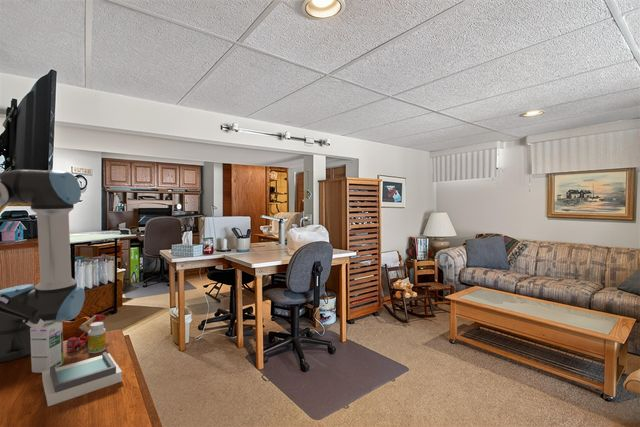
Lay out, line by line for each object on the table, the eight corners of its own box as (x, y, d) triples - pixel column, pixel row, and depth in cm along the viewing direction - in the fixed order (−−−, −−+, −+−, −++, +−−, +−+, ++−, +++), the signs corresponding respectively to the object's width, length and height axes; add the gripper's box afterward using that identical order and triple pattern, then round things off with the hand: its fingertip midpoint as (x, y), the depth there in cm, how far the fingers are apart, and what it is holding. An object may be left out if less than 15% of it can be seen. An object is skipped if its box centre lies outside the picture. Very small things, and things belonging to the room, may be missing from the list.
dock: (42, 381, 95) (42, 365, 94) (109, 361, 107) (109, 347, 106) (47, 406, 83) (47, 387, 83) (122, 381, 95) (121, 364, 95)
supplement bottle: (92, 355, 111) (91, 327, 111) (85, 351, 114) (84, 324, 114) (108, 349, 116) (108, 323, 115) (101, 345, 119) (101, 319, 118)
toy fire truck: (64, 352, 113) (64, 325, 113) (98, 336, 127) (98, 312, 126) (72, 353, 112) (72, 326, 112) (105, 337, 126) (105, 313, 126)
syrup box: (49, 373, 99) (48, 327, 99) (30, 372, 99) (29, 327, 99) (64, 363, 105) (63, 320, 105) (46, 363, 105) (45, 320, 105)
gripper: (-113, 303, 72) (-40, 340, 87) (3, 303, 73) (54, 339, 89) (-85, 275, 77) (-21, 315, 92) (23, 275, 79) (68, 314, 94)
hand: (16, 327), depth 91 cm, fingers open, 13 cm apart
